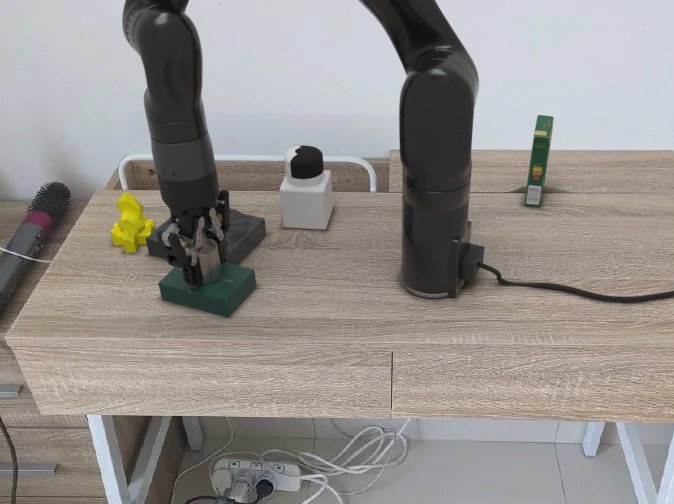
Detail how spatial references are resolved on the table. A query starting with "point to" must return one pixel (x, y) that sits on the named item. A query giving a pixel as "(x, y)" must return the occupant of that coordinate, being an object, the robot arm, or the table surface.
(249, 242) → the square flange with hole
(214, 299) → the panel
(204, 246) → the grey rotary knob
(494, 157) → the table surface
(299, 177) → the medicine bottle
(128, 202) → the yellow faceted cluster
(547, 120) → the coffee box
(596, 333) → the table surface
